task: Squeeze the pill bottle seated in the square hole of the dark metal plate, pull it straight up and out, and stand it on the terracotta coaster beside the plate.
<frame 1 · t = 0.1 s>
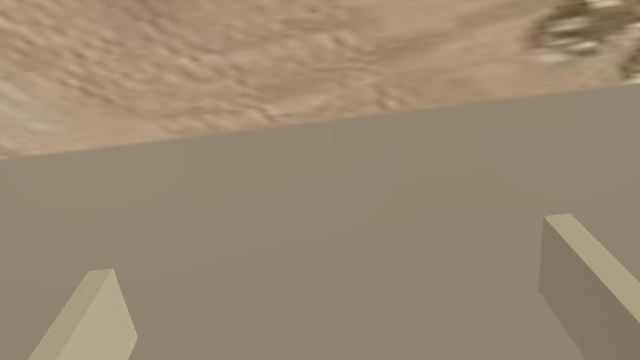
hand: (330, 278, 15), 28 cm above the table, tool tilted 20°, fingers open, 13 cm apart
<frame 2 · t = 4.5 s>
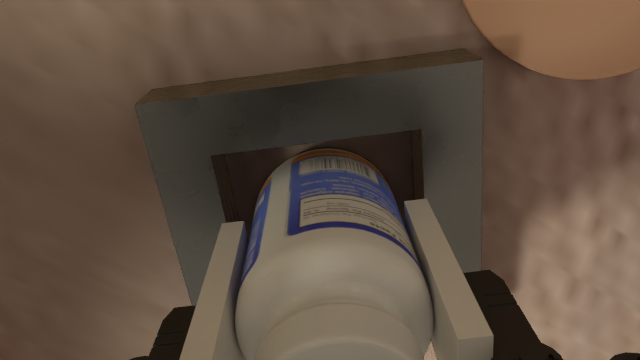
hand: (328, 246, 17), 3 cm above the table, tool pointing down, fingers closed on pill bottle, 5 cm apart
socket plate: (325, 207, 20), on the table
pill bottle: (325, 205, 20), resting in socket plate, touching gripper
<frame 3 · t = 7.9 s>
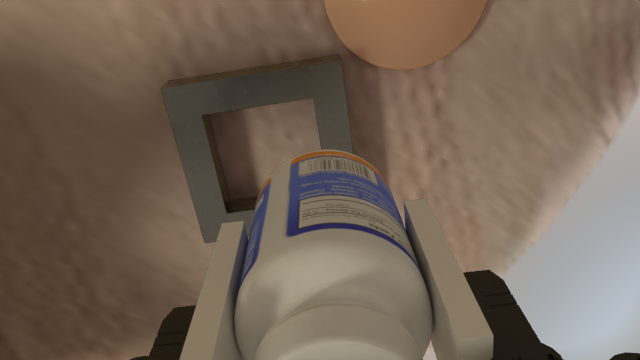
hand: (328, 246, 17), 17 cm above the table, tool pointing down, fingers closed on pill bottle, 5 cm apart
socket plate: (269, 147, 34), on the table
pill bottle: (324, 206, 20), point 14 cm above the table, touching gripper
when the fingers open (5 cm above the table, at t = 11.4 s): pill bottle drops 2 cm, resting on coaster.
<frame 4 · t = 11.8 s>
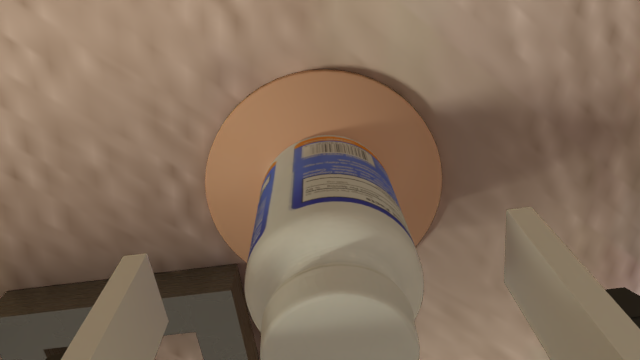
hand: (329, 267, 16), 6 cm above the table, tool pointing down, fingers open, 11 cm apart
pill bottle: (325, 188, 21), resting on coaster
coaster: (323, 184, 22), on the table
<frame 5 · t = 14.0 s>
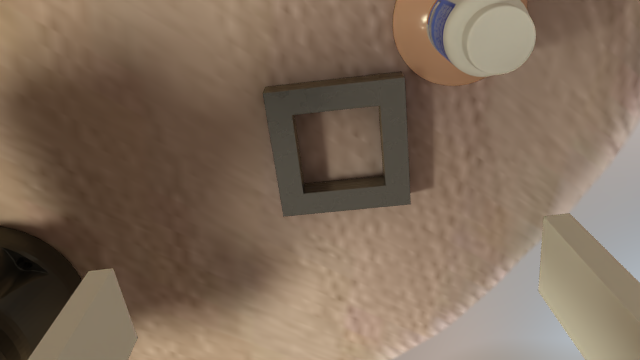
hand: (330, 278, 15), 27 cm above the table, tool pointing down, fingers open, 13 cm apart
socket plate: (339, 142, 43), on the table
pill bottle: (460, 20, 38), resting on coaster
coaster: (458, 19, 38), on the table
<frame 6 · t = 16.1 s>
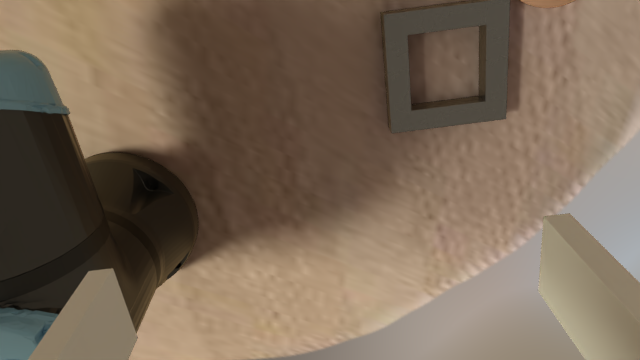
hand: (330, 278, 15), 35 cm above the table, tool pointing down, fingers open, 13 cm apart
socket plate: (442, 64, 47), on the table
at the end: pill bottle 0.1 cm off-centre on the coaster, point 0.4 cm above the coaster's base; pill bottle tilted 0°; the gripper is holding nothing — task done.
